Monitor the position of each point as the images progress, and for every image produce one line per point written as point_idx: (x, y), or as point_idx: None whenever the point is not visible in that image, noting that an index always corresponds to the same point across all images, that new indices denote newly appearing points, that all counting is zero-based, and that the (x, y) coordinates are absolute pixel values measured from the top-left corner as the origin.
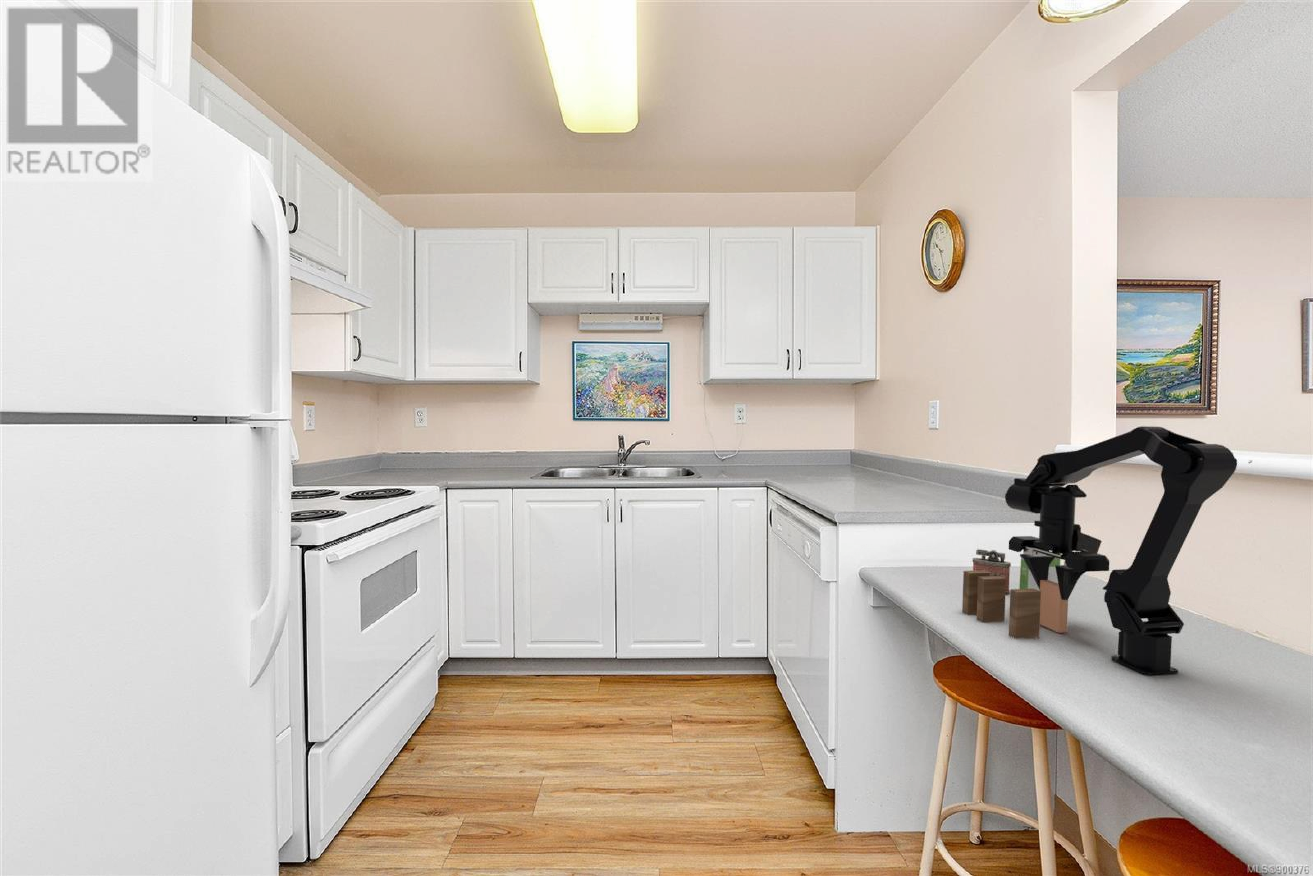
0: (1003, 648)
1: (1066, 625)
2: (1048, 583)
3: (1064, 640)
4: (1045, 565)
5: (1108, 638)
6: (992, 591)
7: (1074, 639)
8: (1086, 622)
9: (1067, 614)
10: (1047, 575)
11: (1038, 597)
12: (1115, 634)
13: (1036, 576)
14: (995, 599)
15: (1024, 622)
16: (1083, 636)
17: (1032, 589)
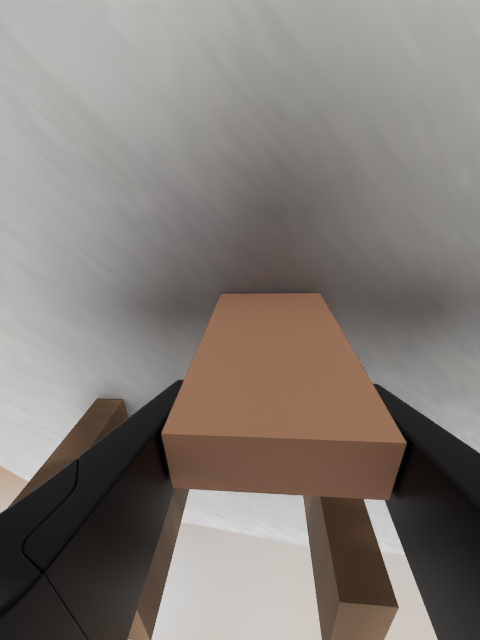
0: (369, 514)
1: (324, 304)
2: (258, 487)
3: (372, 351)
4: (50, 632)
5: (414, 148)
6: (164, 542)
7: (375, 311)
8: (199, 47)
9: (337, 323)
10: (133, 467)
11: (380, 568)
12: (386, 39)
13: (158, 536)
14: (172, 497)
15: None
16: (361, 249)
17: (355, 615)
